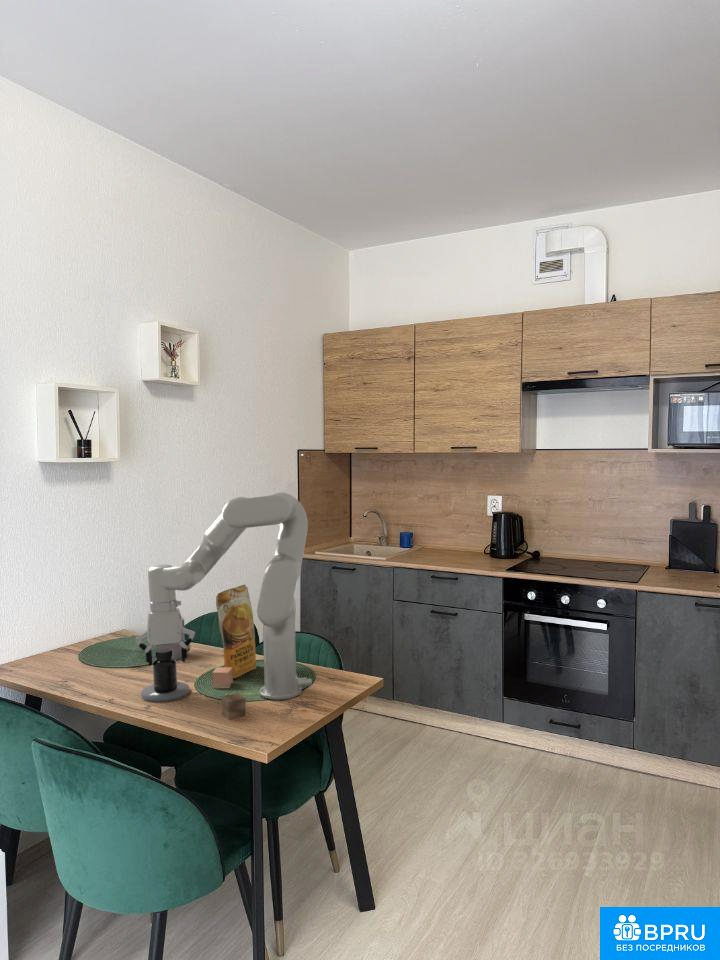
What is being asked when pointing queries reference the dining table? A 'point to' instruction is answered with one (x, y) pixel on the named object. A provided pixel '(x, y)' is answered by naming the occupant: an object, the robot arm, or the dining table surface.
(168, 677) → the supplement bottle
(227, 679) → the terracotta block
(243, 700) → the walnut block
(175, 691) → the charcoal plate
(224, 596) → the pancake mix bag
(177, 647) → the pillar candle
